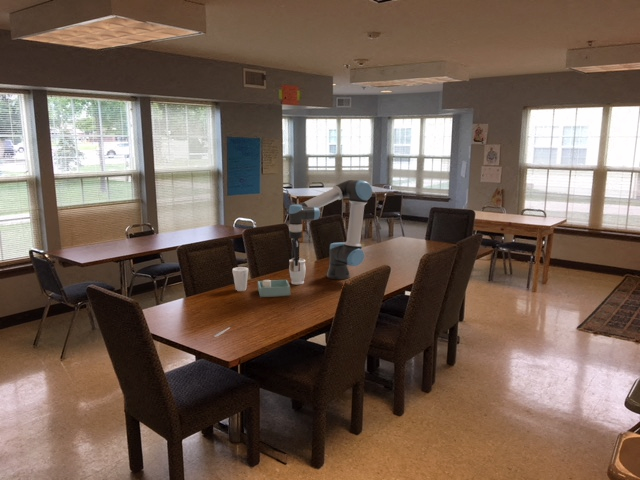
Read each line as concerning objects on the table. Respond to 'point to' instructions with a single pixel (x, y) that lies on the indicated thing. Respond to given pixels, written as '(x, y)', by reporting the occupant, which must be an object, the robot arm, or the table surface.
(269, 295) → the tote
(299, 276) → the jar
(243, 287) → the foam cup
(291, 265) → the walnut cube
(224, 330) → the butter knife
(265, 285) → the ceramic canister
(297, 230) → the robot arm
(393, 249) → the table surface
